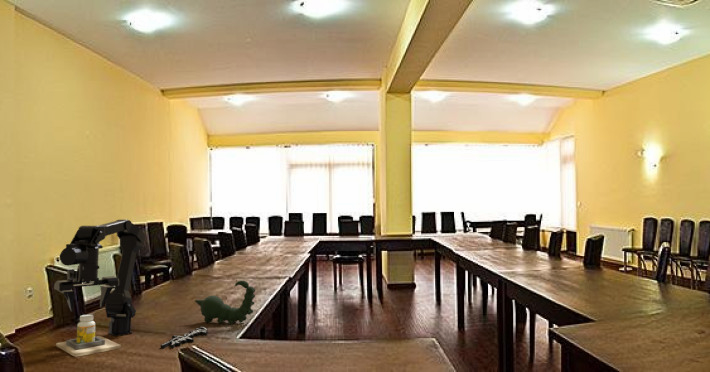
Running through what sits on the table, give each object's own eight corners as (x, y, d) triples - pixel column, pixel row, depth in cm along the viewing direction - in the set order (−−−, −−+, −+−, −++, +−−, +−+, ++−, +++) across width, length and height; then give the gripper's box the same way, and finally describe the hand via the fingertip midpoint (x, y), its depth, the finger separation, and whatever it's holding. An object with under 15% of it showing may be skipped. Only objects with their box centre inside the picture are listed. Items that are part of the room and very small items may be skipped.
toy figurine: (254, 325, 206) (197, 318, 208) (258, 280, 206) (202, 273, 209) (247, 330, 196) (187, 323, 199) (252, 283, 197) (193, 276, 200)
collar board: (100, 338, 175) (100, 331, 176) (120, 348, 163) (121, 340, 164) (56, 346, 165) (56, 338, 165) (75, 357, 153) (75, 349, 153)
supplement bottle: (97, 344, 164) (99, 315, 165) (81, 347, 160) (83, 318, 160) (89, 341, 167) (90, 313, 168) (73, 345, 163) (74, 316, 163)
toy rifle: (191, 326, 191) (215, 327, 190) (191, 330, 191) (215, 331, 190) (153, 344, 164) (181, 346, 163) (153, 349, 164) (181, 350, 163)
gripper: (108, 259, 177) (106, 302, 176) (49, 262, 164) (47, 309, 163) (120, 261, 170) (118, 306, 169) (61, 265, 156) (58, 314, 155)
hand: (86, 309), depth 164 cm, fingers open, 9 cm apart
